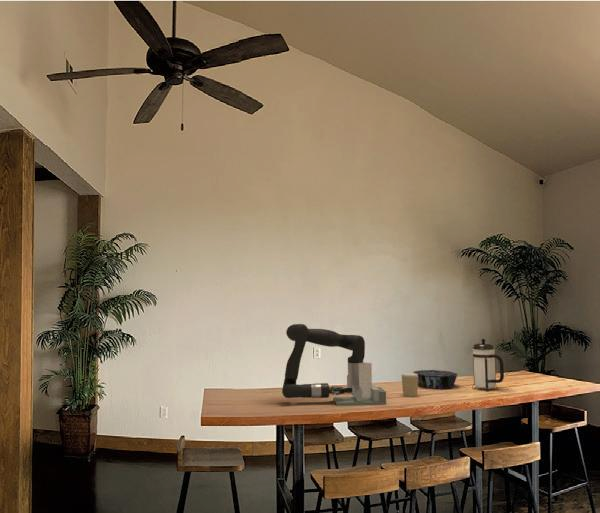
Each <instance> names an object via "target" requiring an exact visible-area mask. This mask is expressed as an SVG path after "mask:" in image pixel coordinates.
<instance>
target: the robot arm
mask: <svg viewBox="0 0 600 513" xmlns="http://www.w3.org/2000/svg"><path fill="white" fill-rule="evenodd" d="M285 333H286V336H287V338H288V339H289V340H290V341H293V342H294V345H293V346H294V347H293V350H292V351H291V353H290V356H289V357H288V359H287V362H286V365H285V372H284V380H283V384H282V390H281V394H282V395H283V397H284V398H287V399H292V398H293V399H294V398H295V399H296V398H305V399H309V398H313V399H328V398H329V397H330V395H331V394H332V395H333V396H334V395H336V396H338V395H345V394H346V393H350V394H353V388H352V386H359V363H364V361H365V360H364V359H365V353H366V352H365V350H366V342H365V339H364V337H363V336H362V335H360V334H359V335H358V334H357V335H356V334H341V333H338V332H336V331H334V330H330V329H324V328H308V326H307V325H306V324H303V323H296V324H295V323H294V324H291V325H289V326H287V329H286V332H285ZM306 343H311V344H314V345H319V346H323V347H328V348H329V347H331V348H333V347H334V348H335V347H339V348H342V349H345V350H349V351H352V353H351V355H350V356H348V357H347V375H346V387H344V386H337V385H332V386H329V383H327V382H325V383H324V382H323V383H321V382H316V383H303V384H297V380H298V377H299V372H300V365H301V364H300V363H301V360H302V356H303V353H304V350H305V346H306Z"/></svg>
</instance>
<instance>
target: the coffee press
mask: <svg viewBox="0 0 600 513" xmlns="http://www.w3.org/2000/svg"><path fill="white" fill-rule="evenodd" d="M471 349H472V365H473V366H472V367H473V385H472V386H471V388H472V390H475V389H476V388H477V389H478V388H480V389H485V392H489V391H490V390H489V389H495V390H499V387H498V386H497V384H498V383H501V382H503V381H504V377H505V376H504V375H505V374H504V373H505V371H504V370H505V369H504V368H505V367H504V361H503V358H502V357H501V356H500V355H498V354H495V350H496V347H495V345H494V344H492V343H489V342H486V339H485V338H482V339H481V342H476V343H474V344H473V345H472V348H471ZM496 359H497V360H498V362H499V379H497V378H496V375H497V374H496ZM474 386H475V387H474Z"/></svg>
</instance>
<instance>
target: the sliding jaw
mask: <svg viewBox="0 0 600 513" xmlns="http://www.w3.org/2000/svg"><path fill="white" fill-rule="evenodd" d="M352 388H353V393H352V397H353V398H354V399H355V400H356V401H357V402H359V401H362V389H361V388H360V387H359V386H352Z"/></svg>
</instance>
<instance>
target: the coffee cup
mask: <svg viewBox="0 0 600 513" xmlns="http://www.w3.org/2000/svg"><path fill="white" fill-rule="evenodd" d="M400 376H401V385H402V395H403V397H407V398H416V397H418V387H419V385H418V374H415V373H414V372H405V373H403V372H402V373H401V375H400Z"/></svg>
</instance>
